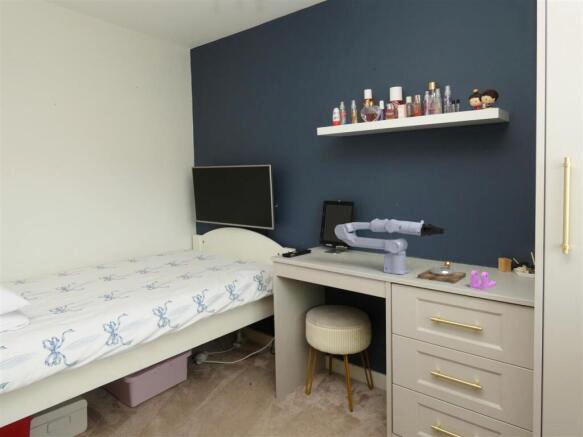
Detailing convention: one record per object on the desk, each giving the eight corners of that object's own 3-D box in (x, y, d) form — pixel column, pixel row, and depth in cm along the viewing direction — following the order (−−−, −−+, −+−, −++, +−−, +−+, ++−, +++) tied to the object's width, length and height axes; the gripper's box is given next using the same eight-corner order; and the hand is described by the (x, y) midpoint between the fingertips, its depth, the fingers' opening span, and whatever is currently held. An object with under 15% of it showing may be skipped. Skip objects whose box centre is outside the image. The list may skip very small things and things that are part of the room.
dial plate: (417, 278, 188) (417, 274, 188) (430, 271, 201) (430, 268, 201) (455, 283, 179) (455, 279, 179) (466, 276, 192) (466, 272, 192)
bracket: (484, 290, 167) (484, 273, 167) (470, 288, 172) (470, 270, 171) (498, 285, 176) (498, 268, 175) (484, 282, 180) (485, 266, 180)
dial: (450, 277, 183) (450, 267, 182) (426, 274, 189) (427, 264, 188) (459, 271, 193) (459, 262, 193) (437, 268, 199) (437, 260, 199)
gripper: (406, 219, 189) (437, 222, 181) (417, 219, 201) (446, 222, 193) (404, 234, 189) (436, 238, 182) (415, 234, 201) (445, 238, 194)
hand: (441, 231), depth 188 cm, fingers open, 7 cm apart
